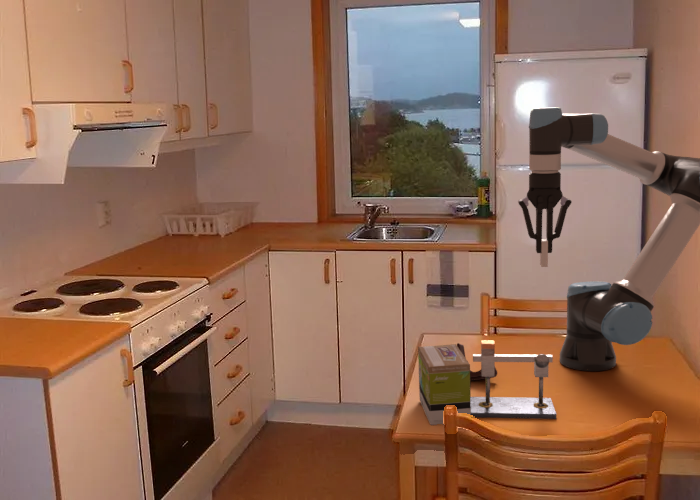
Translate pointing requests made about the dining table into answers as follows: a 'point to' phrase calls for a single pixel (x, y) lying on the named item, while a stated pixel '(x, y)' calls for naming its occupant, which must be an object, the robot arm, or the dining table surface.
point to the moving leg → (488, 363)
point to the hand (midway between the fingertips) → (543, 265)
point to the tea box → (443, 381)
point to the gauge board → (512, 408)
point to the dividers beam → (539, 361)
